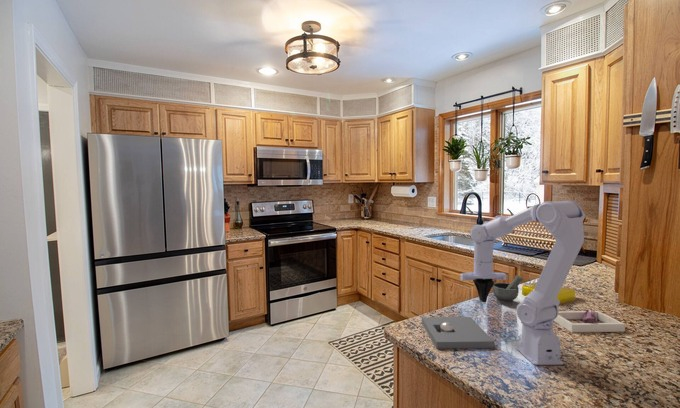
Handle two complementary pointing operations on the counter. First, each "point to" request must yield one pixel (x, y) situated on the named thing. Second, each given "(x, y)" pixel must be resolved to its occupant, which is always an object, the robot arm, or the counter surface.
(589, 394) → the counter surface
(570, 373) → the counter surface
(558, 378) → the counter surface
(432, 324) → the hole board
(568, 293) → the element tile
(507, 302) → the mortar and pestle
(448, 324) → the steel ball
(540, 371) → the counter surface
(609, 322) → the vegetable tray
